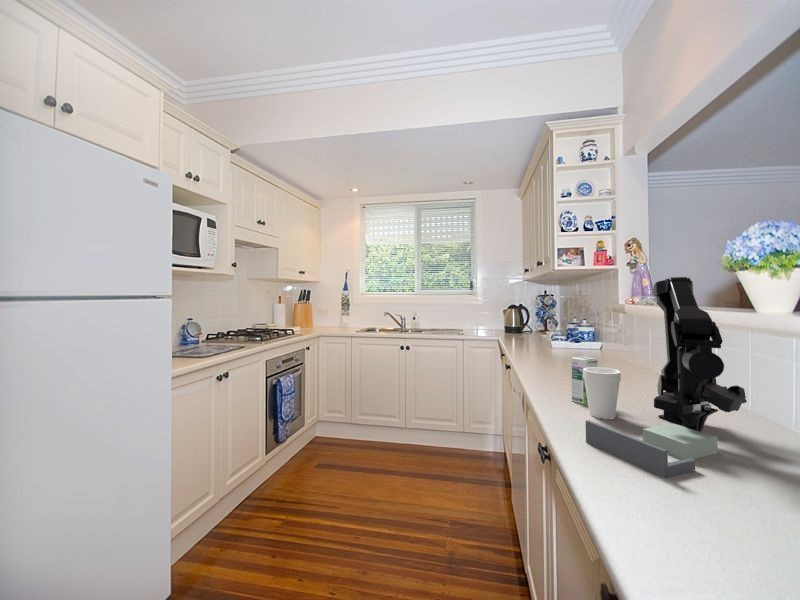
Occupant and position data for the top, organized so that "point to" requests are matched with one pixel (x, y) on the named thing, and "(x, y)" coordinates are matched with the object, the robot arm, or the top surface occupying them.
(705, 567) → the top surface
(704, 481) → the top surface
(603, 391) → the foam cup
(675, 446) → the carton
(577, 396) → the syrup box
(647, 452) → the stand
